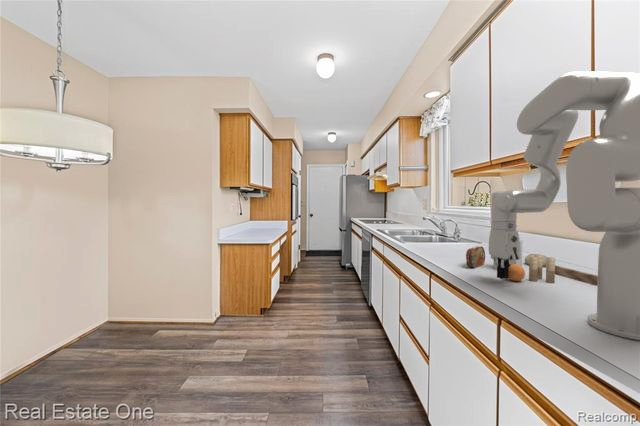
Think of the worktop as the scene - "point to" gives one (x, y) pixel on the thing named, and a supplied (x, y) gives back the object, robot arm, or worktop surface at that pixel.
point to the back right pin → (550, 270)
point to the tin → (475, 257)
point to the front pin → (533, 268)
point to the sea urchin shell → (533, 256)
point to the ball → (516, 272)
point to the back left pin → (539, 266)
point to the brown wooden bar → (577, 275)
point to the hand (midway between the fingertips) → (502, 277)
